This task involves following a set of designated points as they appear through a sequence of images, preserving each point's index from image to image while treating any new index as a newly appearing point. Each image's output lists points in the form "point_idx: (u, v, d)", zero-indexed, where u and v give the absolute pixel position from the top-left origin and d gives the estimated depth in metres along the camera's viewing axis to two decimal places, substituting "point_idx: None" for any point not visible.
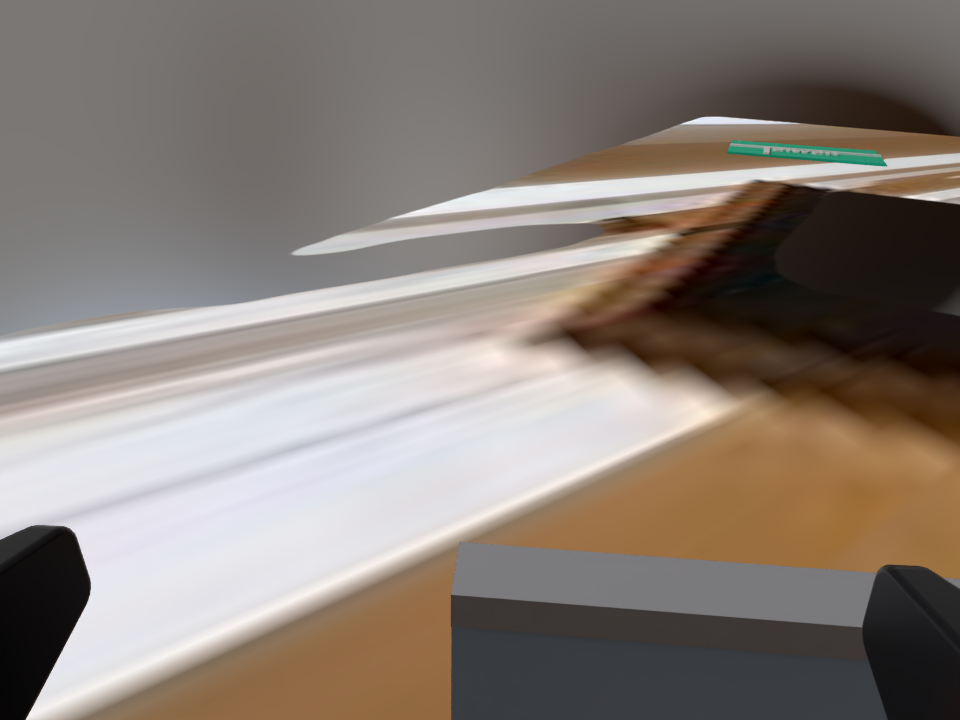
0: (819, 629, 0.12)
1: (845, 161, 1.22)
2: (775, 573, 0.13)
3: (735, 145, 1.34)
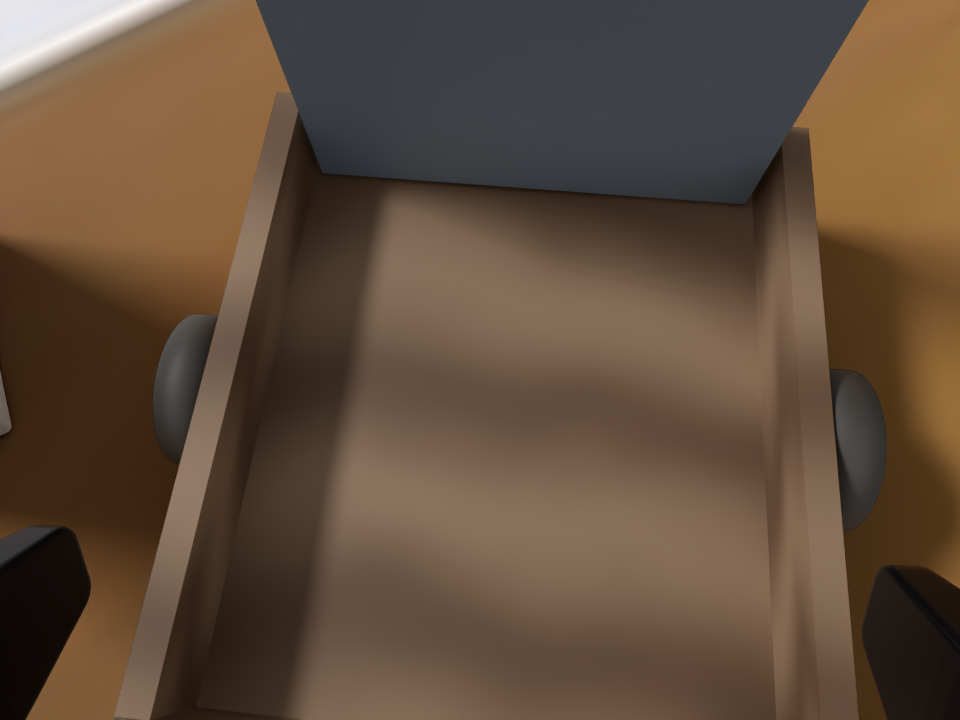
0: None
1: None
2: None
3: None
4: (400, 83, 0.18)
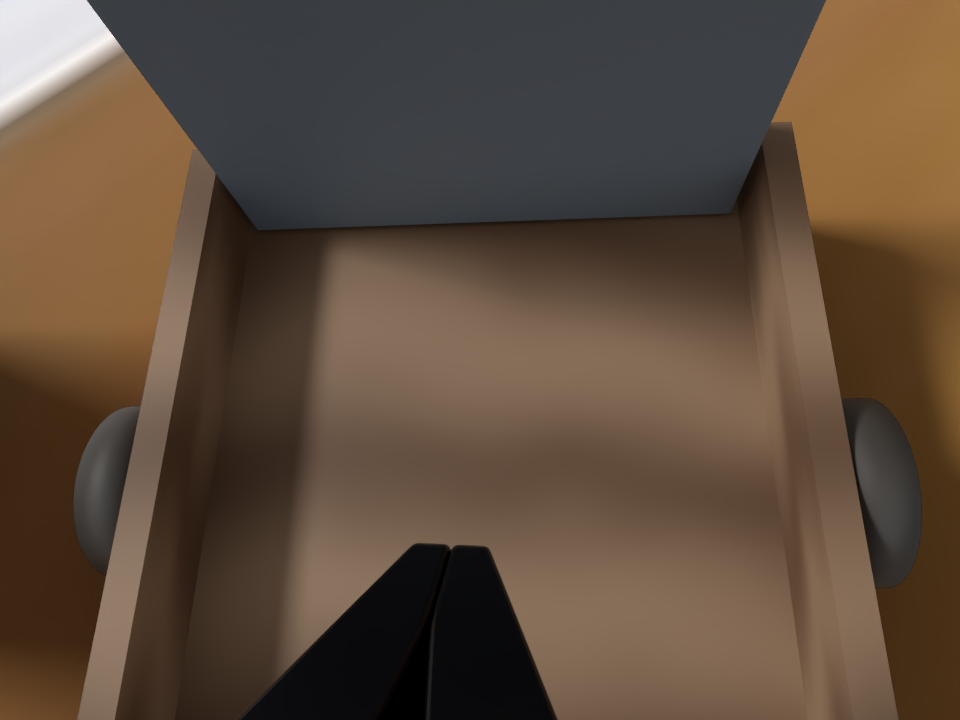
0: None
1: None
2: None
3: None
4: (315, 128, 0.16)
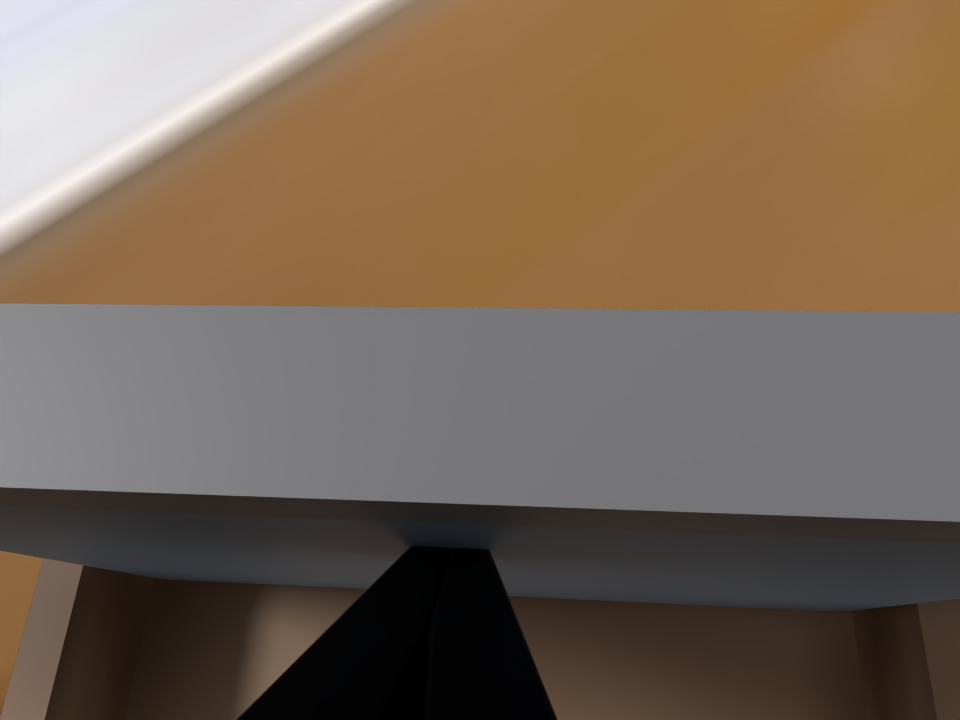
0: (327, 501, 0.05)
1: None
2: (285, 332, 0.05)
3: None
4: (217, 562, 0.10)
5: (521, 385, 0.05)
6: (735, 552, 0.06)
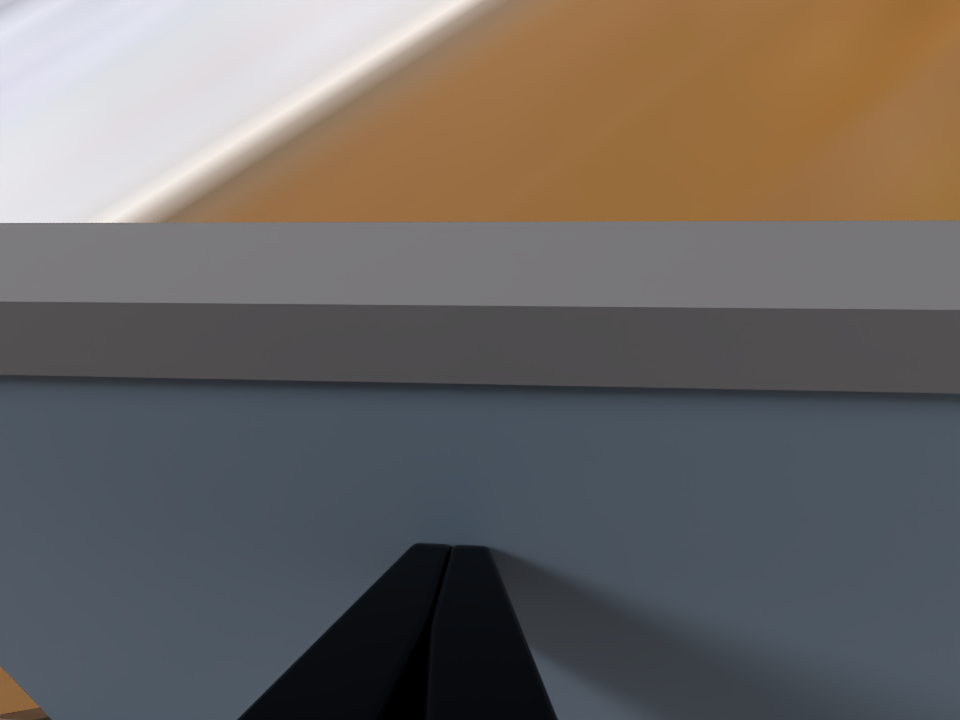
0: (366, 318, 0.05)
1: None
2: (344, 233, 0.06)
3: None
4: (189, 653, 0.09)
5: (527, 253, 0.06)
6: (729, 510, 0.07)
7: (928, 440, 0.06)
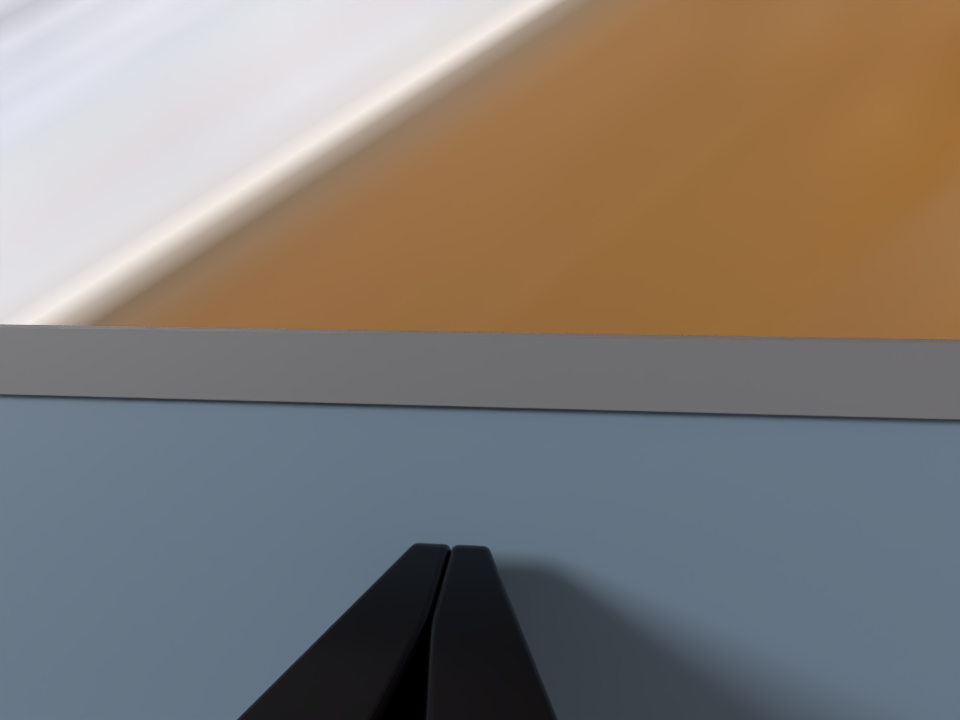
0: (426, 347, 0.08)
1: None
2: (408, 331, 0.09)
3: None
4: None
5: (541, 334, 0.08)
6: (713, 557, 0.08)
7: (856, 470, 0.07)
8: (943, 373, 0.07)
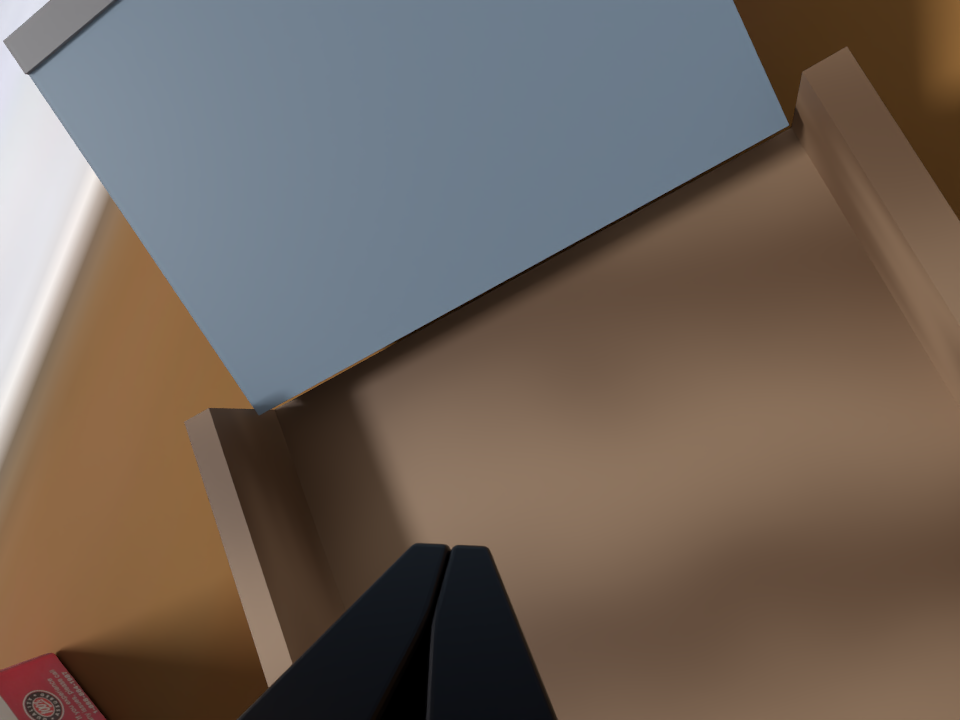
0: None
1: None
2: None
3: None
4: (259, 202, 0.16)
5: None
6: None
7: None
8: None
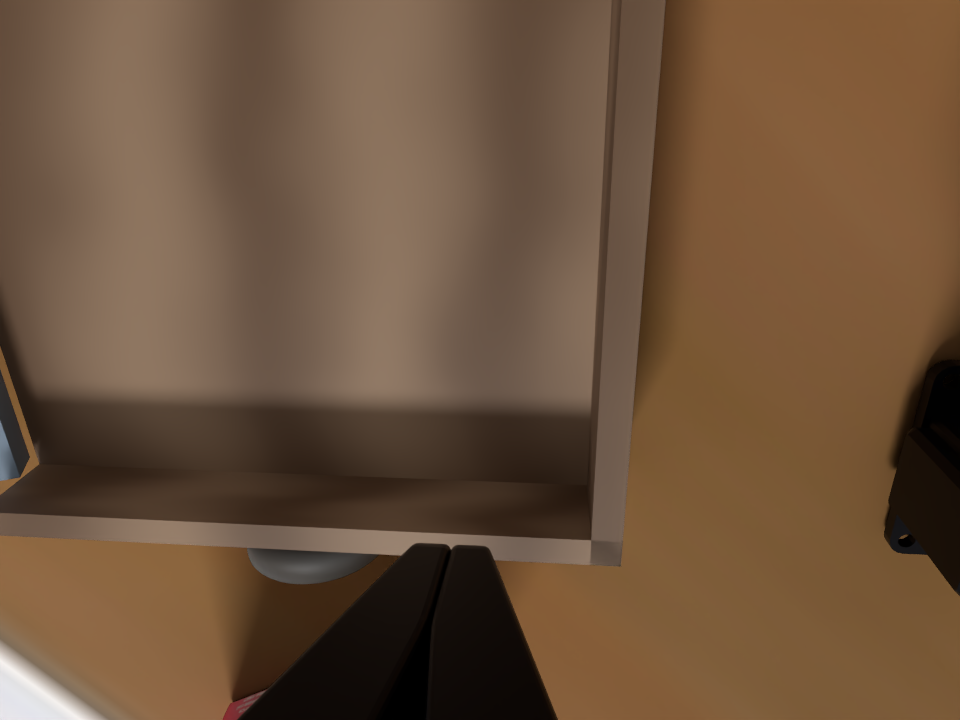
0: None
1: None
2: None
3: None
4: None
5: None
6: None
7: None
8: None
